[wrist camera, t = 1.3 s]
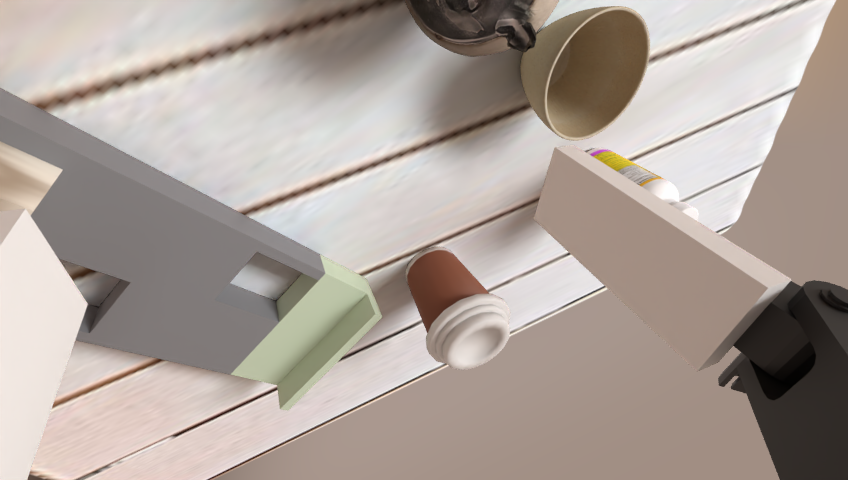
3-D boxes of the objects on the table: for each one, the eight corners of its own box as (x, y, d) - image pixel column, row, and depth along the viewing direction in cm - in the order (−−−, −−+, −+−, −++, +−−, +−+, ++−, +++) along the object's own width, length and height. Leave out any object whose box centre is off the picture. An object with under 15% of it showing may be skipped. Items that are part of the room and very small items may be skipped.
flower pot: (510, 132, 39) (554, 162, 34) (483, 33, 32) (534, 51, 27) (593, 81, 39) (650, 102, 34) (584, -28, 33) (653, -22, 27)
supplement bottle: (605, 185, 49) (695, 242, 40) (561, 203, 48) (643, 267, 39) (613, 137, 45) (716, 189, 36) (565, 156, 44) (658, 214, 34)
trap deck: (-147, 252, 25) (-228, 319, 20) (-37, 68, 22) (-103, 100, 18) (282, 365, 46) (288, 410, 41) (366, 278, 43) (382, 317, 38)
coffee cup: (384, 259, 42) (425, 342, 33) (458, 224, 43) (517, 296, 35) (405, 308, 48) (446, 390, 39) (470, 276, 50) (523, 349, 41)
